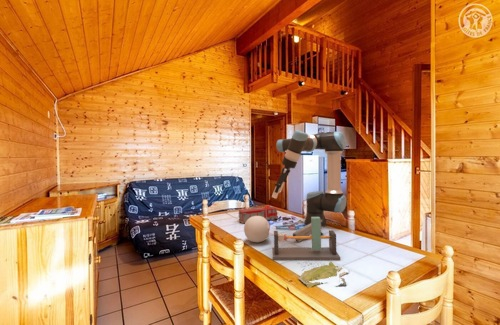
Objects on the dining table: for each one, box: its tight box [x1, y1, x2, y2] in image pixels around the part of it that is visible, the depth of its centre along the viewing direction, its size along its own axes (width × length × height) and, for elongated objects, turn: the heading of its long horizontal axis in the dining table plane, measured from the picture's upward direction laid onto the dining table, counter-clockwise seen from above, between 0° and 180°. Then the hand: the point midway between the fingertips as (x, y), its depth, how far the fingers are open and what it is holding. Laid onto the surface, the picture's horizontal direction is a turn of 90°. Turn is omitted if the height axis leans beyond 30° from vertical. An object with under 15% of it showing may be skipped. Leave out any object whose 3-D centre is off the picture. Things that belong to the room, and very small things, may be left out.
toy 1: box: [238, 205, 279, 224], centre depth 189 cm, size 10×30×10 cm, turn 109°
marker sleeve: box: [311, 217, 322, 250], centre depth 122 cm, size 4×3×16 cm
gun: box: [292, 219, 325, 243], centre depth 146 cm, size 2×25×10 cm, turn 121°
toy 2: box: [243, 216, 271, 243], centre depth 143 cm, size 15×15×15 cm
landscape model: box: [297, 261, 351, 288], centre depth 99 cm, size 24×15×2 cm, turn 123°
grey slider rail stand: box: [271, 229, 341, 261], centre depth 122 cm, size 32×12×12 cm, turn 85°
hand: (276, 194), depth 134 cm, fingers open, 13 cm apart
